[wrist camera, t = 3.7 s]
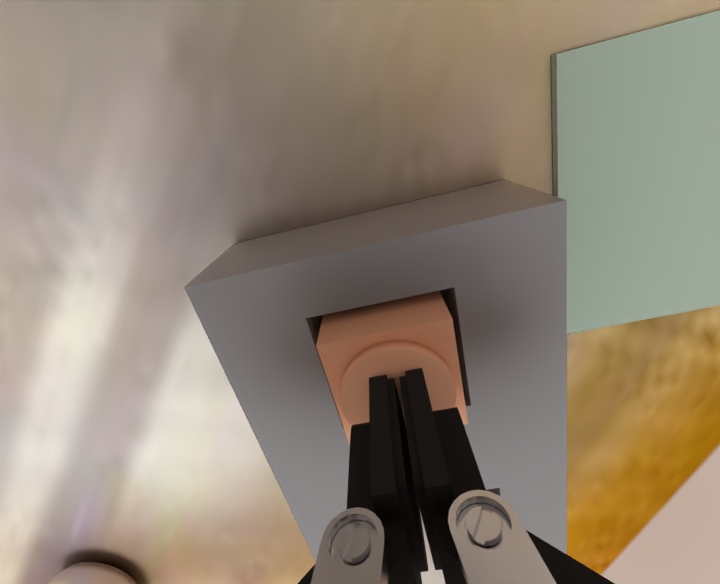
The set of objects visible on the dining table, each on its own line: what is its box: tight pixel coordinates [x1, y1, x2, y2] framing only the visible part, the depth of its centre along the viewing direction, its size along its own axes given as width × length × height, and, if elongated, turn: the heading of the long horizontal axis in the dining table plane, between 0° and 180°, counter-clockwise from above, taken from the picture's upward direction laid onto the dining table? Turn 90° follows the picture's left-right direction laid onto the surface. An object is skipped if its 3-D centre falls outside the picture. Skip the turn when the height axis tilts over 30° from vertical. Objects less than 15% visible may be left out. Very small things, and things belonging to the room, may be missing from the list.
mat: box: [551, 10, 720, 334], centre depth 15 cm, size 12×9×1 cm
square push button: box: [316, 291, 468, 444], centre depth 14 cm, size 4×4×6 cm
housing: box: [184, 180, 567, 561], centre depth 17 cm, size 20×12×5 cm, turn 13°
